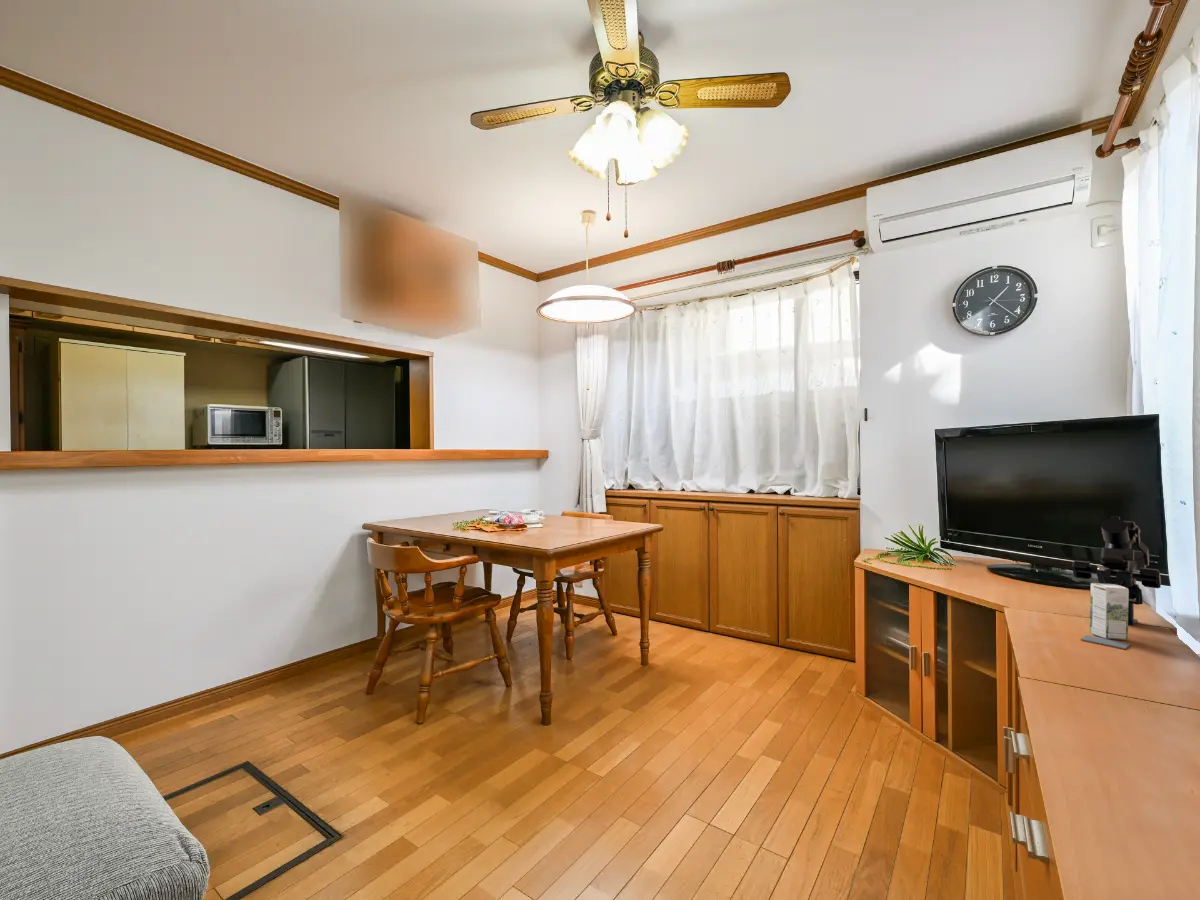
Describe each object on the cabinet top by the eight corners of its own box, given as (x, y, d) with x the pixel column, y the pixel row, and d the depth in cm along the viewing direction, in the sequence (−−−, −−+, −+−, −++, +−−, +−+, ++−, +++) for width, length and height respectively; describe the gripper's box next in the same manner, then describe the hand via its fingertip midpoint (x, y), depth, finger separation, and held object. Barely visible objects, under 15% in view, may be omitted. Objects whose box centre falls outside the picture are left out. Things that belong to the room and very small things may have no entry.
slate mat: (1086, 636, 153) (1086, 634, 153) (1130, 645, 146) (1130, 643, 146) (1080, 640, 150) (1080, 638, 150) (1125, 649, 143) (1125, 648, 143)
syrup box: (1111, 634, 155) (1111, 583, 155) (1129, 640, 149) (1129, 587, 149) (1089, 633, 155) (1089, 582, 156) (1106, 639, 149) (1106, 586, 150)
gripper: (1072, 534, 167) (1065, 575, 160) (1159, 541, 153) (1155, 586, 146) (1077, 556, 172) (1071, 597, 165) (1162, 565, 158) (1159, 610, 151)
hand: (1111, 597), depth 156 cm, fingers closed
